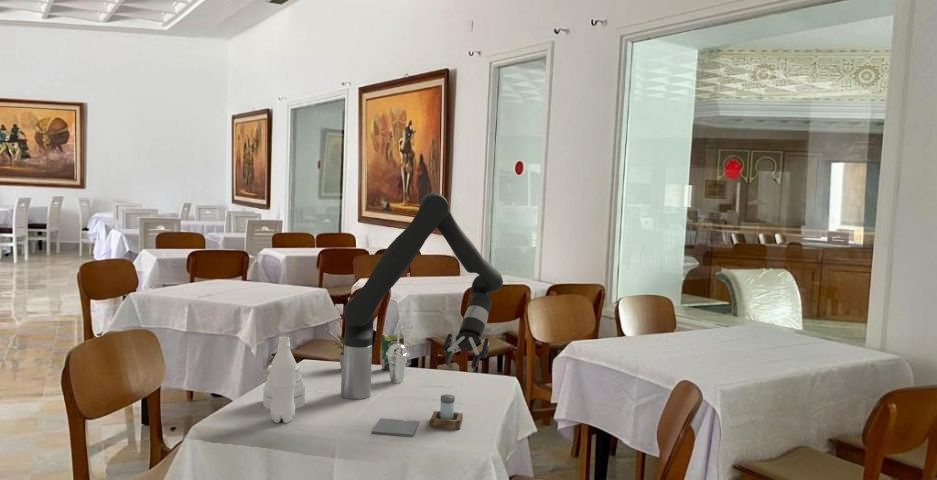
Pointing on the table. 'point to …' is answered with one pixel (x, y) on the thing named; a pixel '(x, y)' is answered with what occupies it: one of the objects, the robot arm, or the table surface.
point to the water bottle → (283, 383)
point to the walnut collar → (446, 421)
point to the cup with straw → (397, 359)
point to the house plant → (341, 349)
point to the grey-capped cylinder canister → (447, 407)
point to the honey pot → (298, 392)
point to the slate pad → (396, 427)
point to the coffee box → (386, 344)
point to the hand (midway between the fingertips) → (460, 365)
